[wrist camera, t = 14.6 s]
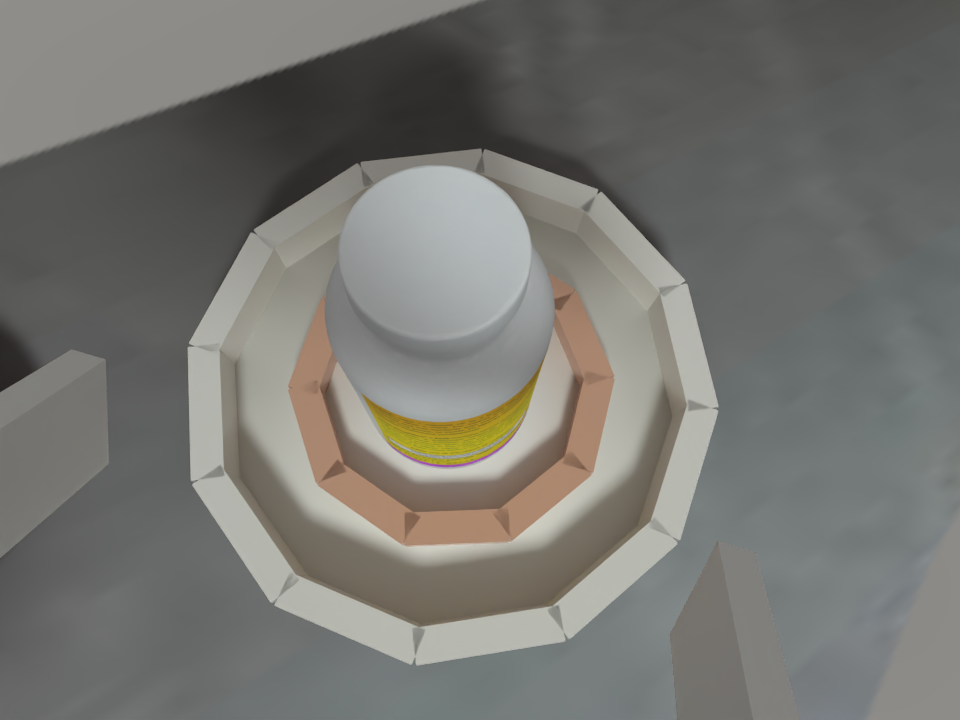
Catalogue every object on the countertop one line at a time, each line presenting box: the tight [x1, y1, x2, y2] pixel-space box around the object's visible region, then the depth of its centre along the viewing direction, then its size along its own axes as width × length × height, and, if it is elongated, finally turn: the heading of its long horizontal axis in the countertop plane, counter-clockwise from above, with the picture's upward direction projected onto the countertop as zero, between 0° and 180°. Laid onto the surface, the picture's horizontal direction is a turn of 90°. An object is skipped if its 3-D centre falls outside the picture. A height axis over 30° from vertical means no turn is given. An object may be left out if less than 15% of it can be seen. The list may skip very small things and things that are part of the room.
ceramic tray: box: [188, 149, 719, 665], centre depth 28 cm, size 20×20×3 cm
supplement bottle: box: [325, 165, 555, 469], centre depth 23 cm, size 7×7×13 cm
